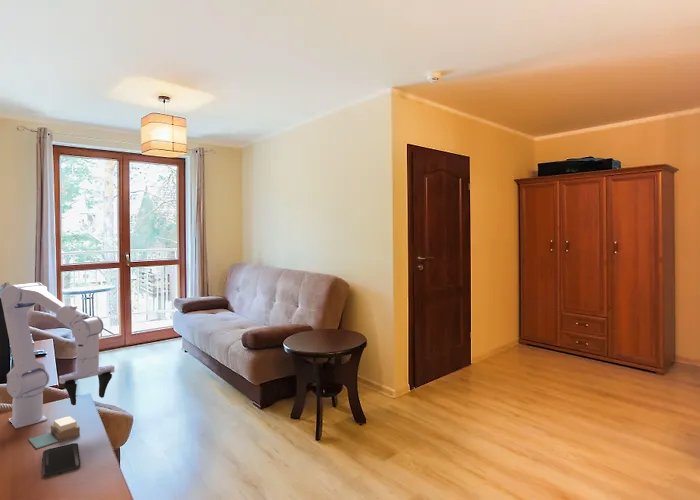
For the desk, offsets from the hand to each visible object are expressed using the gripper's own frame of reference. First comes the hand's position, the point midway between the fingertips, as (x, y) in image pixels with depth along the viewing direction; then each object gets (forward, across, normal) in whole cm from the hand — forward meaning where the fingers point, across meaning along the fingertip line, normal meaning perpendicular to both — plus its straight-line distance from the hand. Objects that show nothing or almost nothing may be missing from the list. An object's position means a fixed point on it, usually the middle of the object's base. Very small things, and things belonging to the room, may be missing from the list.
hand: (87, 400), depth 124 cm
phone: (+9, -11, -16) cm, 22 cm away
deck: (+8, -6, 0) cm, 10 cm away
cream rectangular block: (+6, -6, 0) cm, 8 cm away
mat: (+8, -11, 0) cm, 14 cm away
